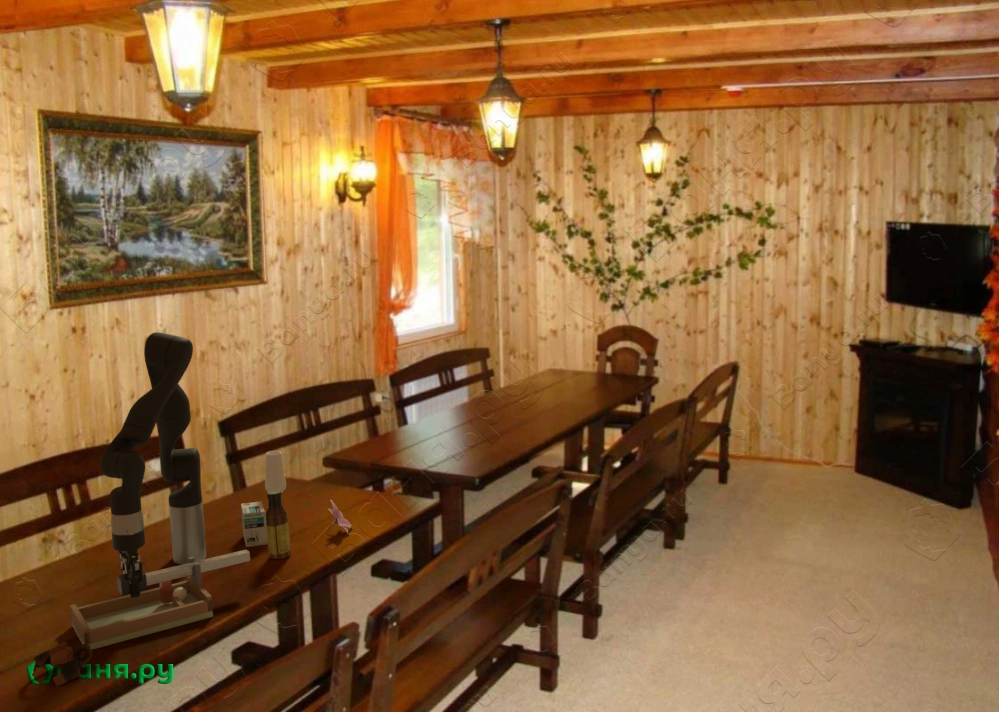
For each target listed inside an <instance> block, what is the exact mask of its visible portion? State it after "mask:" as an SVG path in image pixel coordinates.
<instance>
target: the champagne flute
mask: <svg viewBox="0 0 999 712" xmlns="http://www.w3.org/2000/svg"><path fill="white" fill-rule="evenodd" d="M264 472H265V475H264V476H265V478H264V488H265V490H266V492H269V491H272V490H280V491H281V494H282V493H284V492H285V490H286V488H287V481H286V475H285V473H286V472H285V467H284V462H283V455H282V452H281V451H280V450H279V451H278V450H270V451H267V452H266V453H265V471H264Z"/></svg>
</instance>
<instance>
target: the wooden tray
mask: <svg viewBox="0 0 999 712" xmlns="http://www.w3.org/2000/svg"><path fill="white" fill-rule="evenodd" d="M191 562H195V559H194V557H193V556H192V557H188V563H191ZM202 581H203V580H202V573H201V568H200V563H199V562H196V563H194V574H193V575H189V576H187V579H186V580H184V581H183V580H182V581H179V582H175V583H172V595H173V592H174V590H175V589H176V588H179V587H182V588H184V589H186V591H187V597H186V599H185V600H183V601H181V600H180V599H179V598H178V596H177V597H173V602H171V603H167V604H163V603H162V602H161V597H160V586H159V587H155V588H151V589H147V590H145V591H141V592H140V596H139V597H134V598H132V597H131V596H130V594H129V595H125V596H122V595H121V596H119V597H115V598H111V599H106V600H103V601H97V602H95V603H90V604H87V605H82V606H77V604H71V605H70V604H69V607H70V618H71V626H72V628H74V629H73V631H74V632H75V634H76V636H77V637H78V639H79V641H80V643H81V645H82V644H87V645H89V646H90V648H91V649H92V650H95V649H99V648H104V647H106V646H110V645H113V644H117V643H121V642H125V641H129V640H133V639H136V638H139V637H140V638H141V637H144V636H146V635H147V636H148V635H150V634H154V633H158V632H162V631H165V630H170V629H173V628H177V627H180V626H183V625H184V626H185V625H188V624H191V623H195V622H199V621H201V620H202V621H203V620H207V619H209V618H212V617H214V609H213V597H212V595H211V594H210V593H209V591H207V590H206V589H205V588H204V587H203V584H202Z"/></svg>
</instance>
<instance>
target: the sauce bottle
mask: <svg viewBox="0 0 999 712" xmlns="http://www.w3.org/2000/svg"><path fill="white" fill-rule="evenodd" d="M266 492H267V493H266V497H267V501H268V504H267V505H268V508H267V509H266V527H267V541H268V544H267V546H268V547H267V548H268V553H269V556H270V558H271V559H272V560H273V559H274V560H283V559H286V558H288V557H289V556H290V555H291V539H290V530H289V520H288V514H287V512H286V510H285V509H284V506H283V504H282V493H281V491H280V490H272V491H269V492H268V491H266Z"/></svg>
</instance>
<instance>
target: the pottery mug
mask: <svg viewBox="0 0 999 712" xmlns="http://www.w3.org/2000/svg"><path fill="white" fill-rule="evenodd" d="M68 643H69V642H68V641H66V642H65V641H64V642H63V643H60V644H58V645H56V646H54V647H51V648H49V649H48V650H46V651H44V652H42V653H40V654H38V655H36V656H35V657H33V661H34V665H33V672H36V671H37V668H38V669H39V668H41V669H42V668H45V667H46V665H47V666H49V665H53V666H56V667H57V668H58V669H59V670H60V673H58V674H56V675H55V676H53V677H52V681H53V682H54V684H55V686H56V687H59V686H61V685H64V684H66V683H67V682H70V681H73V680H75V679H77V678H80V676H81V670H82V669H83V668H84V666H85V665H86V664H87V663H89V661H90V660H91V658H92V657H93V651H94V649H91V648H90V646H89V645H87V644H82V643H81V644H78V645H77V646H75V647H72V646H69V644H68ZM82 651H85V654H84V657H83V658H81V653H82Z"/></svg>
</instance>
